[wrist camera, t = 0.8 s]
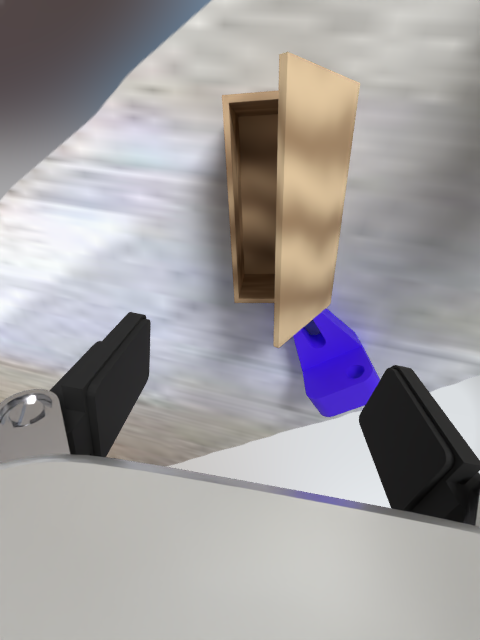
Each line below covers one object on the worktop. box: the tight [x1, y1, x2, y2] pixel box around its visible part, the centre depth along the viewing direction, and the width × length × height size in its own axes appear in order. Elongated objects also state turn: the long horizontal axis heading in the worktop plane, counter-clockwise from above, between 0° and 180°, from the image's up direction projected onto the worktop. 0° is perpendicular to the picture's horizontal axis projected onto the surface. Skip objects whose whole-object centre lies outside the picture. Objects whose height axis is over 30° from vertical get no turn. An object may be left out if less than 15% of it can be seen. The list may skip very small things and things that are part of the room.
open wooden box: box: [222, 91, 279, 303], centre depth 35 cm, size 22×12×10 cm, turn 3°
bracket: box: [293, 309, 380, 417], centre depth 44 cm, size 18×11×12 cm, turn 35°
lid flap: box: [274, 52, 360, 348], centre depth 26 cm, size 22×12×1 cm
